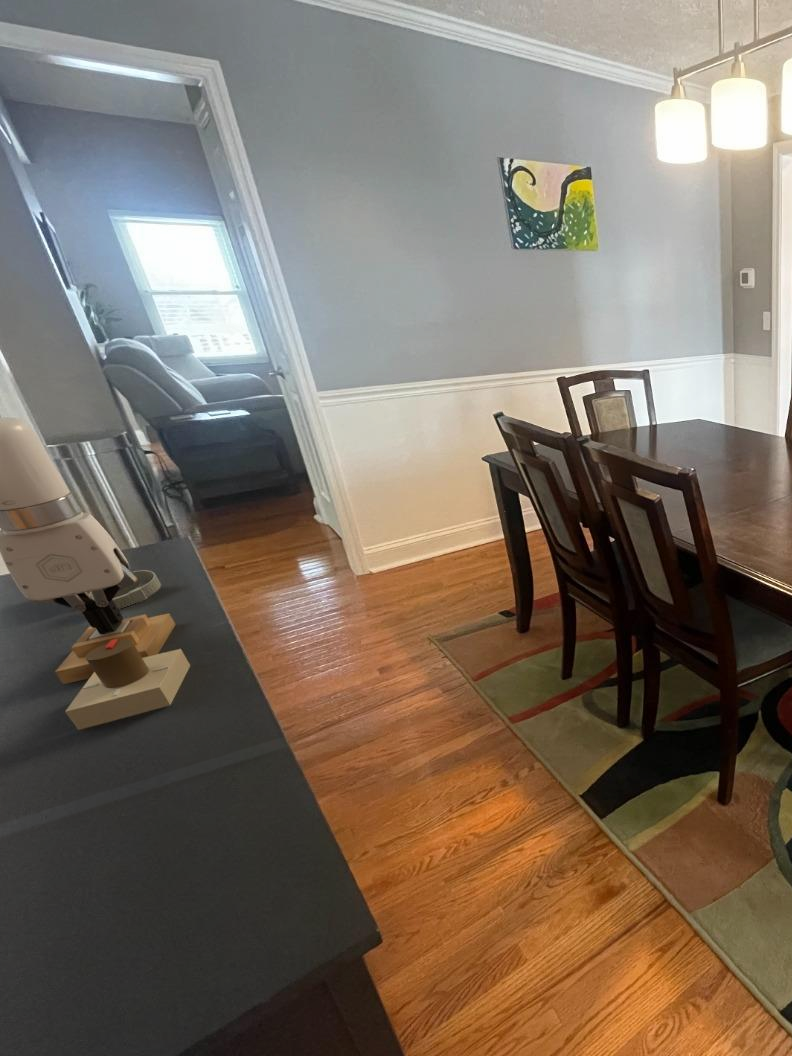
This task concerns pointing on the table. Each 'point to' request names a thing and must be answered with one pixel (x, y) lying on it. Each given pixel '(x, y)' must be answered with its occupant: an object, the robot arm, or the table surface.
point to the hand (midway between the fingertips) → (111, 628)
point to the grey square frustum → (119, 630)
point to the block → (141, 632)
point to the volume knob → (117, 663)
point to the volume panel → (130, 692)
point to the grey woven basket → (137, 589)
